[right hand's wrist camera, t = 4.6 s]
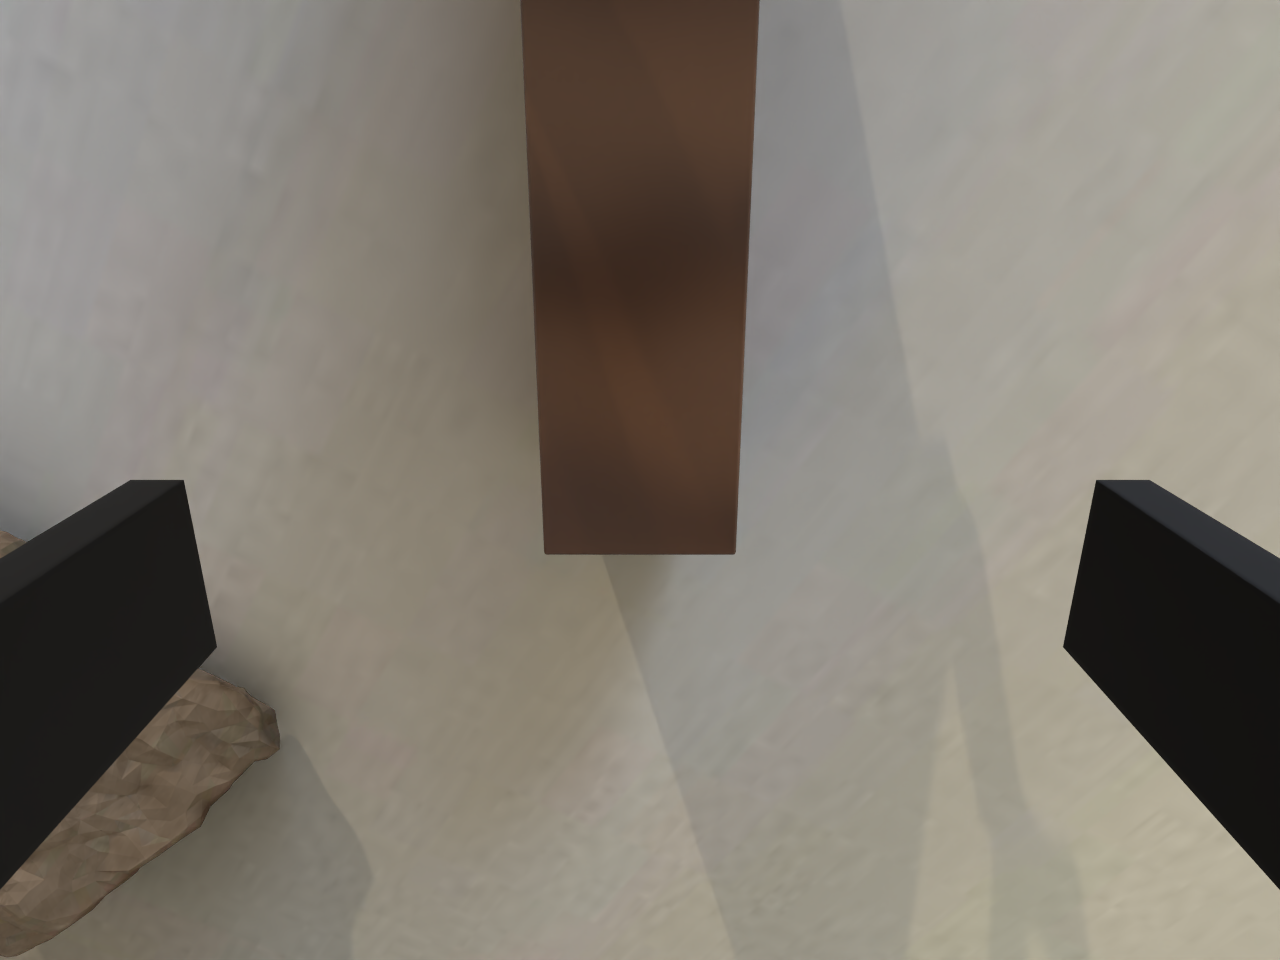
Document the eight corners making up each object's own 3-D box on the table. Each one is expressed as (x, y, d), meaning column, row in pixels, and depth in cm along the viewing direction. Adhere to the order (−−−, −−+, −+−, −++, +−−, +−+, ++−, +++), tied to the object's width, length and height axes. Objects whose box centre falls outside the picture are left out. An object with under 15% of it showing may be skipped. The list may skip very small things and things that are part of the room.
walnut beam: (711, 457, 29) (735, 555, 22) (568, 457, 29) (543, 555, 22) (742, -554, 20) (802, -977, 13) (537, -555, 20) (477, -976, 13)
